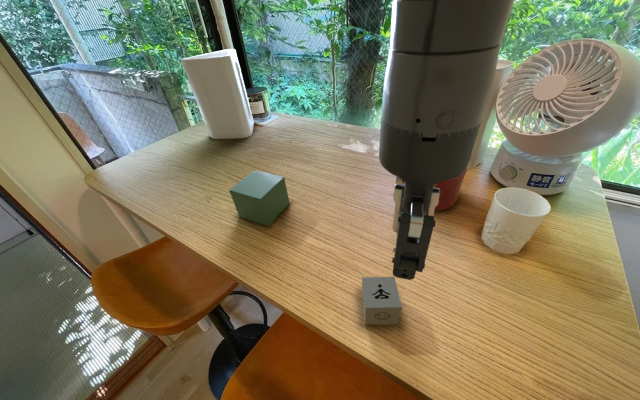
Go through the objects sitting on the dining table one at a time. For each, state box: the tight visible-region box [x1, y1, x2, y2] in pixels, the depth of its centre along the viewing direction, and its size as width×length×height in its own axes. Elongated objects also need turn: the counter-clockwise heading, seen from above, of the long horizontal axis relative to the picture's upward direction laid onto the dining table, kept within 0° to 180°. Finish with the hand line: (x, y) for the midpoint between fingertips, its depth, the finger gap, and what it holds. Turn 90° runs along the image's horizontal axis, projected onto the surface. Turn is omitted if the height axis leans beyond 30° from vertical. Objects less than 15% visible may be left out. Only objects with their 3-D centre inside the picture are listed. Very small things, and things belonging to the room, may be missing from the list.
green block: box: [228, 169, 290, 227], centre depth 60 cm, size 9×9×8 cm
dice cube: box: [361, 276, 403, 326], centre depth 39 cm, size 5×5×5 cm
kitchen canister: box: [434, 154, 473, 212], centre depth 56 cm, size 13×13×18 cm
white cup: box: [480, 186, 552, 255], centre depth 46 cm, size 8×8×10 cm
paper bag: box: [180, 48, 255, 140], centre depth 95 cm, size 19×15×28 cm
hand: (405, 245), depth 30 cm, fingers open, 8 cm apart
